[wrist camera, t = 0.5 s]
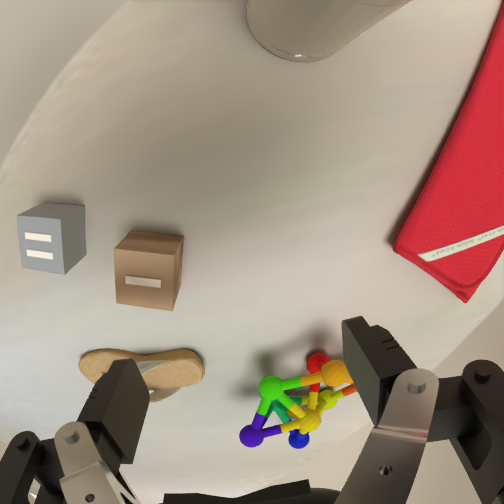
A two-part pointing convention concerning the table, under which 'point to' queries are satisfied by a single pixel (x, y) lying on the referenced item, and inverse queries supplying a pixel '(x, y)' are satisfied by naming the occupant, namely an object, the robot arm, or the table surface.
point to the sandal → (149, 369)
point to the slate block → (52, 237)
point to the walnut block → (148, 269)
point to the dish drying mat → (465, 188)
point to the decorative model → (298, 402)
